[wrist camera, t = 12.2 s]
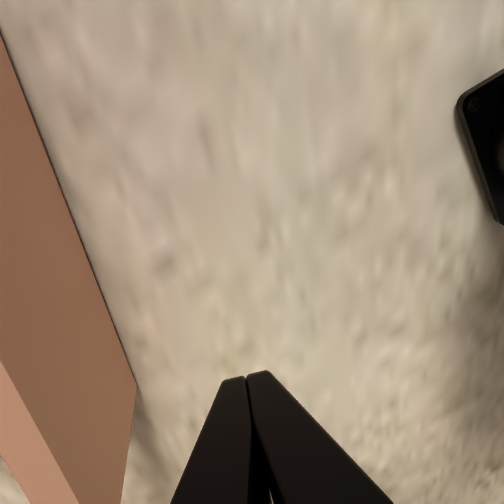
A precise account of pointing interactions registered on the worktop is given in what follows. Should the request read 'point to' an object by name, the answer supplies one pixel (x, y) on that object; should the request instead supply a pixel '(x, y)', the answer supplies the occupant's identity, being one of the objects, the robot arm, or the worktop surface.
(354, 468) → the robot arm
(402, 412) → the worktop surface
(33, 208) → the tray
